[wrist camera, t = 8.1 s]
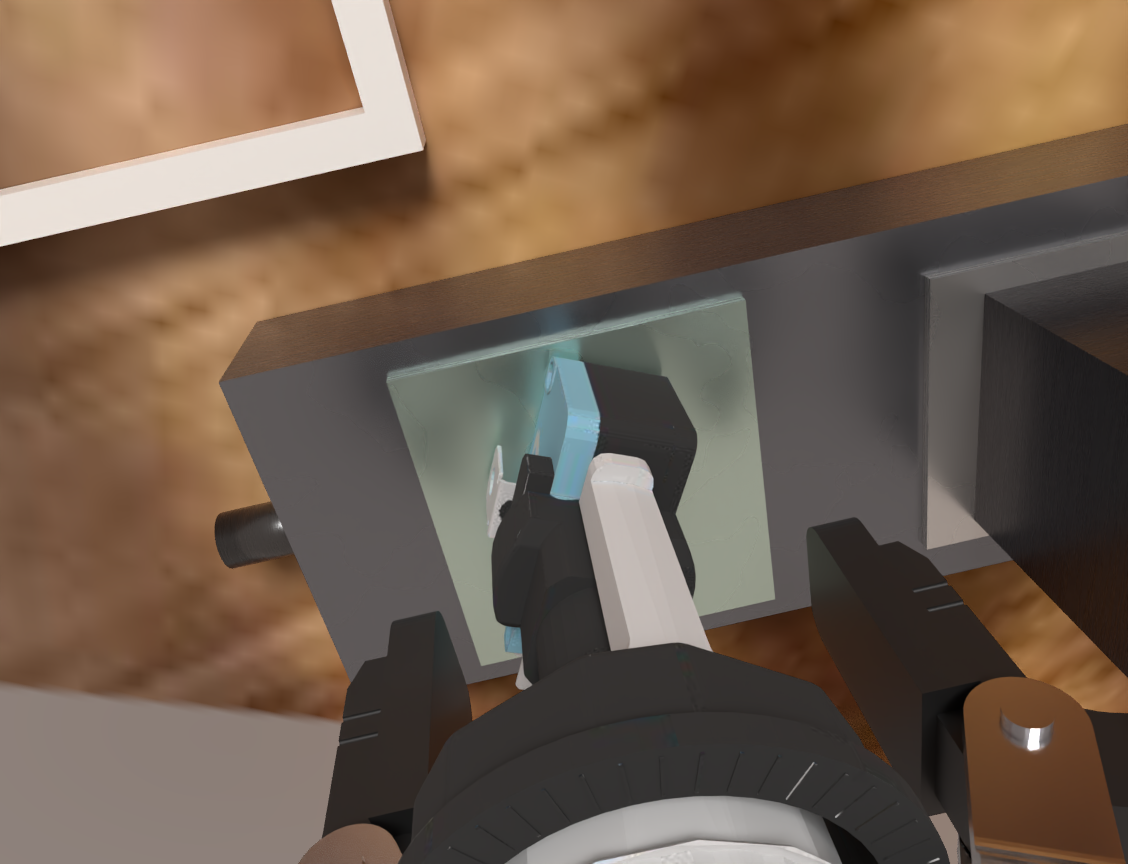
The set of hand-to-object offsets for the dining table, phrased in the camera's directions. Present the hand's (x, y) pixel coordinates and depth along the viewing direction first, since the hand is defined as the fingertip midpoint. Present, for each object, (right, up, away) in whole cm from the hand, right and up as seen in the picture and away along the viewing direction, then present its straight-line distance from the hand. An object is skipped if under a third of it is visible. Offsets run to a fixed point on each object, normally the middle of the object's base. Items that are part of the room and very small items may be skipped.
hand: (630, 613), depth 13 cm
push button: (-1, +2, +3) cm, 4 cm away
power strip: (+5, +4, +6) cm, 9 cm away
